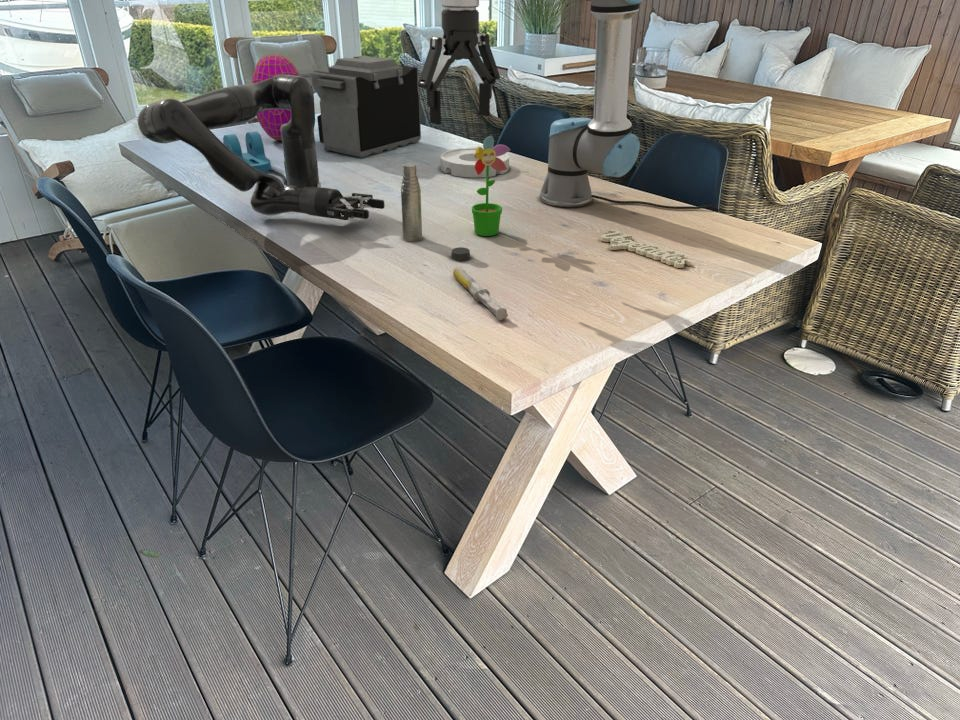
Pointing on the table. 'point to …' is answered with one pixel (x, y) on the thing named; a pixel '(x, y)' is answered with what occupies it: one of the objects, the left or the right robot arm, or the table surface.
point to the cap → (460, 254)
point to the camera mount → (249, 150)
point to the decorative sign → (644, 249)
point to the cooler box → (367, 105)
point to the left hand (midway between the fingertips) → (376, 209)
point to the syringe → (479, 293)
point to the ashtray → (467, 163)
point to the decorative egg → (266, 70)
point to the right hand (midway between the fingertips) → (460, 119)
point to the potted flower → (487, 212)
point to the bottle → (411, 204)
